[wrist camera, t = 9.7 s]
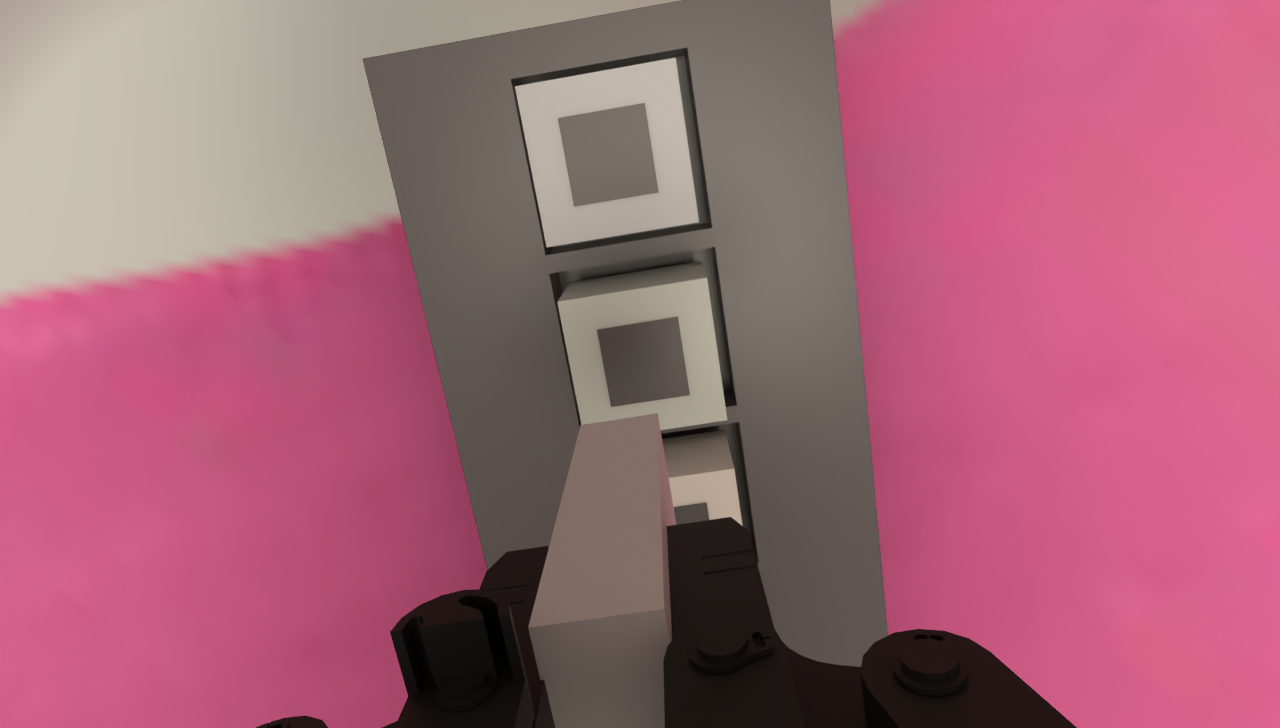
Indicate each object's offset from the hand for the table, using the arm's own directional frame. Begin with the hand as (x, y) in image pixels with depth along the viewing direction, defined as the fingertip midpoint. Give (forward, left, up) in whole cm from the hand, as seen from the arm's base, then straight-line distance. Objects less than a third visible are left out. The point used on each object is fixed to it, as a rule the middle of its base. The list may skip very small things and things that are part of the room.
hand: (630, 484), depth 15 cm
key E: (0, +6, -12) cm, 13 cm away
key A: (0, 0, -12) cm, 12 cm away
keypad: (0, -3, -13) cm, 14 cm away
